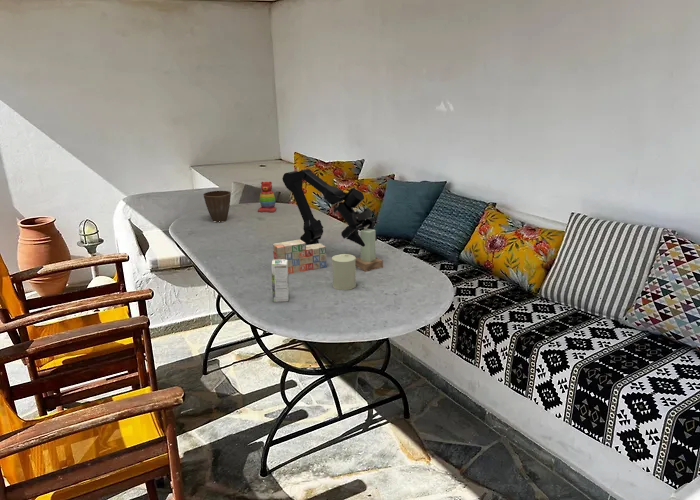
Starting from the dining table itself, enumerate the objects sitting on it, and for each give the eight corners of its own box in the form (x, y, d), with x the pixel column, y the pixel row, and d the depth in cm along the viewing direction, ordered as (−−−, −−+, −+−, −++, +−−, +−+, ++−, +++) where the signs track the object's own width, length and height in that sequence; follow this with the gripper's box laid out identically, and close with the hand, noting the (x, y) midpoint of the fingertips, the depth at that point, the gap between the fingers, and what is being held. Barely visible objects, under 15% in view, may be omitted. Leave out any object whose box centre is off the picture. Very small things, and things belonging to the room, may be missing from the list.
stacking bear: (256, 212, 320) (254, 183, 314) (262, 208, 329) (260, 180, 323) (274, 212, 318) (272, 183, 312) (278, 208, 327) (277, 180, 322)
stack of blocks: (321, 263, 232) (320, 236, 228) (326, 267, 226) (326, 240, 222) (274, 270, 223) (272, 243, 219) (278, 275, 218) (277, 247, 214)
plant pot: (229, 224, 294) (227, 196, 289) (202, 224, 294) (200, 196, 289) (235, 217, 308) (233, 190, 303) (210, 217, 308) (207, 190, 303)
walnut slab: (365, 271, 221) (365, 264, 220) (353, 265, 228) (353, 258, 227) (382, 267, 225) (382, 260, 224) (370, 261, 232) (370, 254, 232)
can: (359, 282, 209) (358, 254, 205) (351, 291, 200) (351, 261, 197) (337, 280, 212) (336, 251, 208) (329, 288, 203) (328, 259, 200)
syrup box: (273, 296, 197) (271, 259, 193) (289, 295, 198) (287, 258, 193) (272, 302, 192) (270, 264, 187) (289, 301, 192) (287, 264, 188)
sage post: (360, 260, 225) (360, 230, 221) (366, 257, 229) (366, 228, 225) (369, 262, 223) (369, 232, 219) (375, 259, 226) (375, 229, 222)
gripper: (346, 207, 213) (369, 237, 210) (371, 198, 227) (393, 227, 225) (331, 223, 220) (353, 253, 217) (357, 214, 234) (377, 241, 232)
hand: (370, 243), depth 223 cm, fingers open, 9 cm apart
